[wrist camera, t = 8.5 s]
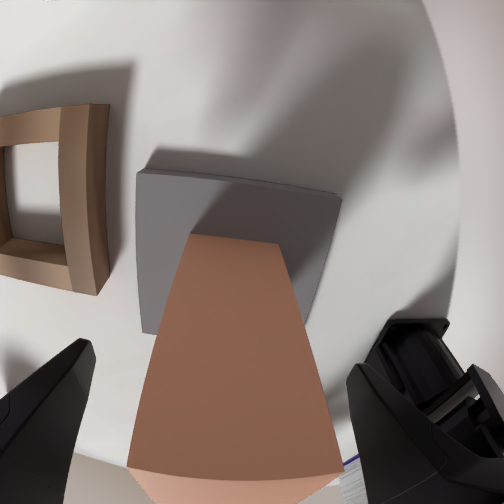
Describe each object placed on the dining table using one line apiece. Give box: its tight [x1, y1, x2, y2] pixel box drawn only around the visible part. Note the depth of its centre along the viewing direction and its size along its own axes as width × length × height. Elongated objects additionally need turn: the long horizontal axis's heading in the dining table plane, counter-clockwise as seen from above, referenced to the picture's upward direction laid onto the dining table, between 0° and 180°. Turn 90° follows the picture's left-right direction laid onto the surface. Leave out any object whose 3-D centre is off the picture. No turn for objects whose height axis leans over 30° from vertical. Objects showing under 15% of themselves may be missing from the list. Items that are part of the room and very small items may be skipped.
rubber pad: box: [135, 169, 342, 335], centre depth 14 cm, size 9×9×1 cm
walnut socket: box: [0, 104, 110, 296], centre depth 11 cm, size 9×9×2 cm
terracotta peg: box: [127, 233, 345, 504], centre depth 9 cm, size 4×4×10 cm
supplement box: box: [338, 454, 368, 504], centre depth 26 cm, size 6×6×11 cm
